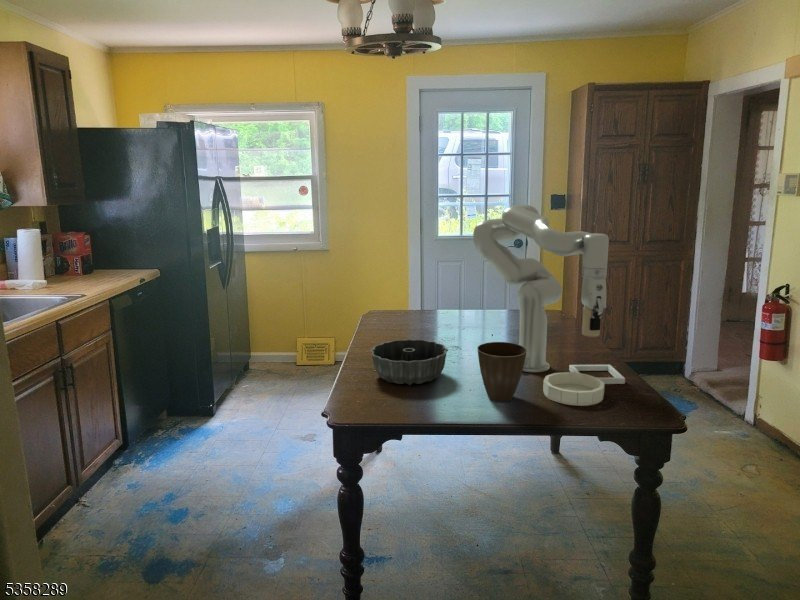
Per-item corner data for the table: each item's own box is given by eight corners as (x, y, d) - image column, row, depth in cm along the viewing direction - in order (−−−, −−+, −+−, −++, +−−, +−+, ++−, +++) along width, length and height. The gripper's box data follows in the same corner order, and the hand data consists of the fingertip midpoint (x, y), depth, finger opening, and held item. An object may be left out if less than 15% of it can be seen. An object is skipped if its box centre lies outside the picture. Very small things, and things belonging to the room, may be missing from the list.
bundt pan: (357, 384, 196) (356, 355, 194) (390, 361, 219) (390, 335, 217) (430, 395, 185) (430, 365, 183) (457, 370, 209) (457, 343, 206)
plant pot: (534, 397, 182) (536, 348, 179) (506, 411, 172) (507, 359, 168) (495, 385, 192) (496, 339, 189) (466, 397, 182) (467, 348, 179)
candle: (595, 332, 193) (597, 302, 191) (602, 336, 188) (604, 306, 185) (579, 332, 192) (580, 303, 190) (585, 337, 187) (587, 306, 185)
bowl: (578, 410, 172) (579, 396, 171) (531, 392, 186) (532, 379, 185) (615, 396, 182) (616, 383, 181) (568, 380, 196) (568, 368, 195)
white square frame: (624, 383, 193) (625, 378, 193) (581, 384, 193) (581, 378, 193) (609, 369, 207) (609, 364, 207) (569, 369, 207) (569, 364, 207)
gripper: (617, 277, 178) (613, 334, 181) (595, 268, 194) (592, 320, 198) (592, 277, 177) (589, 335, 181) (573, 268, 194) (570, 321, 198)
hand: (590, 327), depth 189 cm, fingers closed on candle, 5 cm apart
